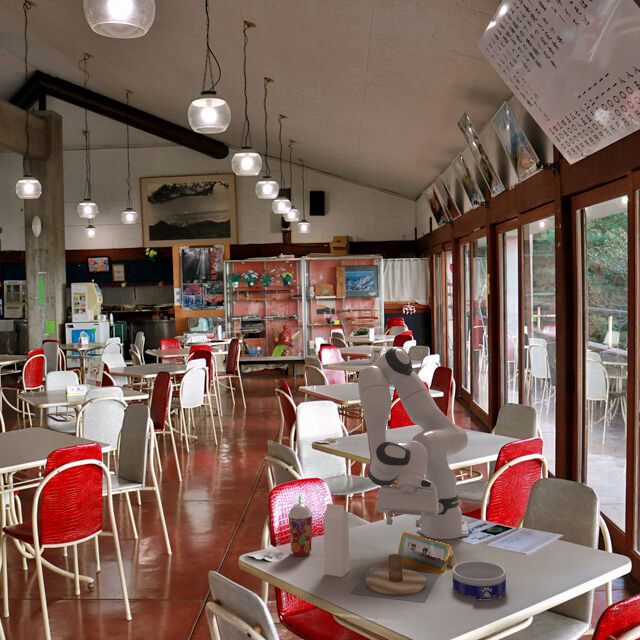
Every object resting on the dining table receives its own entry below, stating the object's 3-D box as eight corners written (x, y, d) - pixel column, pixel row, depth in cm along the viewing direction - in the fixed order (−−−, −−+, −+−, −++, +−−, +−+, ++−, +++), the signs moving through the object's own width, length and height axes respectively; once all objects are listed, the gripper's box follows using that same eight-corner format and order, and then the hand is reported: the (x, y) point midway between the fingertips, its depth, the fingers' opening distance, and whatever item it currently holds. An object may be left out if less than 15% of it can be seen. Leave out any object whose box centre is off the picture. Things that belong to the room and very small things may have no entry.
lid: (375, 570, 222) (374, 544, 222) (431, 576, 216) (431, 549, 216) (358, 591, 205) (357, 563, 205) (419, 598, 199) (418, 570, 199)
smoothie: (309, 548, 246) (307, 491, 246) (316, 556, 238) (315, 497, 238) (286, 551, 243) (284, 494, 243) (293, 559, 236) (291, 500, 235)
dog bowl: (469, 604, 196) (469, 582, 196) (443, 584, 211) (442, 564, 211) (516, 596, 201) (516, 575, 201) (487, 577, 215) (487, 557, 215)
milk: (332, 569, 225) (330, 501, 225) (350, 572, 223) (347, 502, 223) (324, 576, 220) (322, 506, 220) (342, 578, 217) (340, 507, 217)
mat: (371, 569, 225) (371, 567, 225) (439, 576, 217) (439, 574, 217) (349, 595, 204) (349, 593, 204) (424, 604, 196) (424, 602, 196)
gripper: (377, 479, 232) (369, 517, 223) (438, 483, 225) (433, 522, 216) (381, 490, 236) (374, 527, 227) (442, 493, 229) (436, 532, 220)
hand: (403, 525), depth 222 cm, fingers open, 8 cm apart
